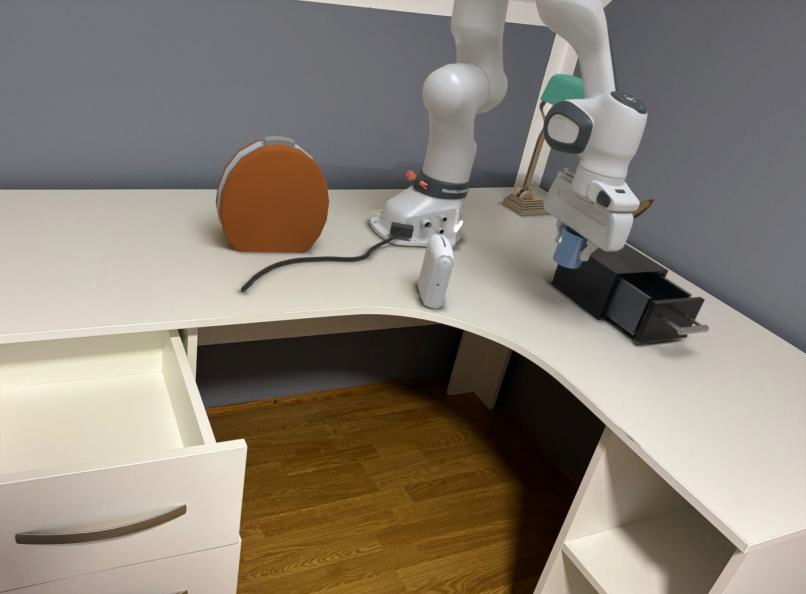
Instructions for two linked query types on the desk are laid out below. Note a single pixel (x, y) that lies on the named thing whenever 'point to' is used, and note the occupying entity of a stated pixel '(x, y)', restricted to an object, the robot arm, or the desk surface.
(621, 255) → the black box
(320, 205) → the alarm clock
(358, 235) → the desk surface
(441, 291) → the photo printer
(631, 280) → the drawer
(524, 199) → the banker's lamp
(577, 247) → the cup
